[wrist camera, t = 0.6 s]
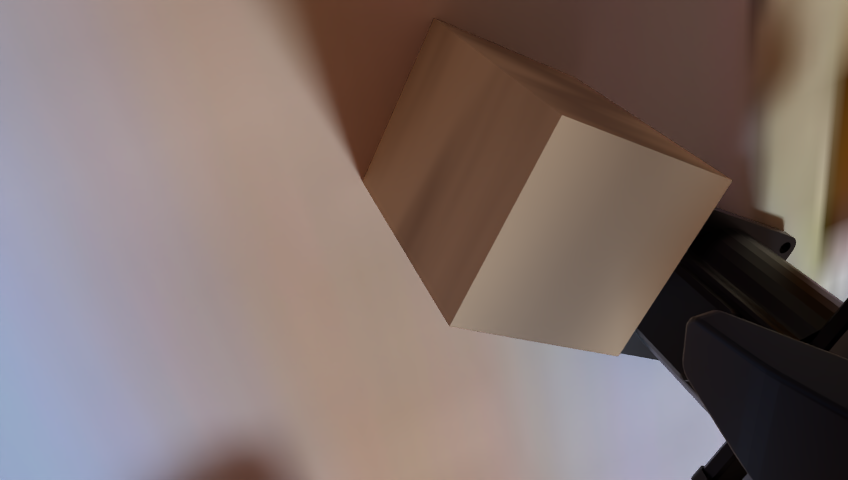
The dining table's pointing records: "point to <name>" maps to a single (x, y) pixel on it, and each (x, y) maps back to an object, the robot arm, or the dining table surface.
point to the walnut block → (533, 196)
